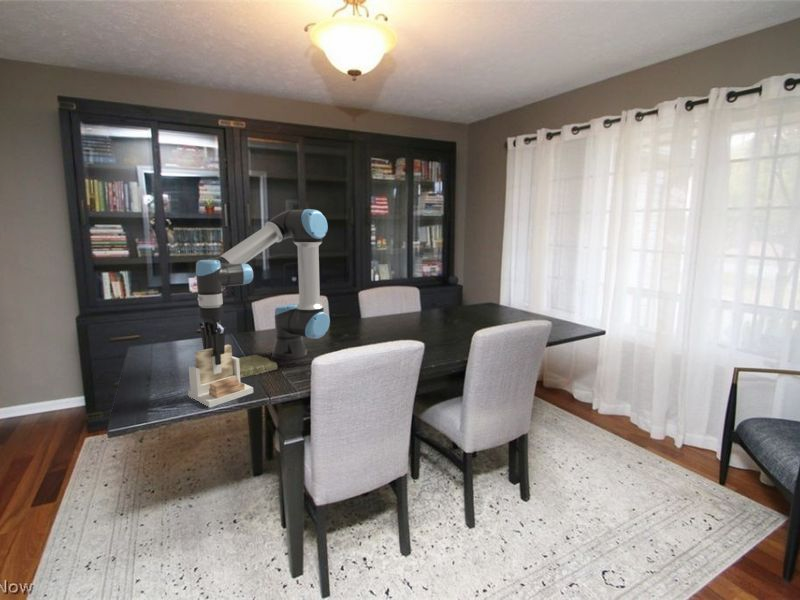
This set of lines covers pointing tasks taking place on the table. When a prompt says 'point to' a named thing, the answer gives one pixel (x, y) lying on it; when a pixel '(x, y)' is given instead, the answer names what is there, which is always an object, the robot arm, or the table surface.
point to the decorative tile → (255, 365)
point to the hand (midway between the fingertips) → (215, 372)
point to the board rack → (202, 391)
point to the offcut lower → (227, 391)
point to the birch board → (206, 365)
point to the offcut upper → (224, 384)
